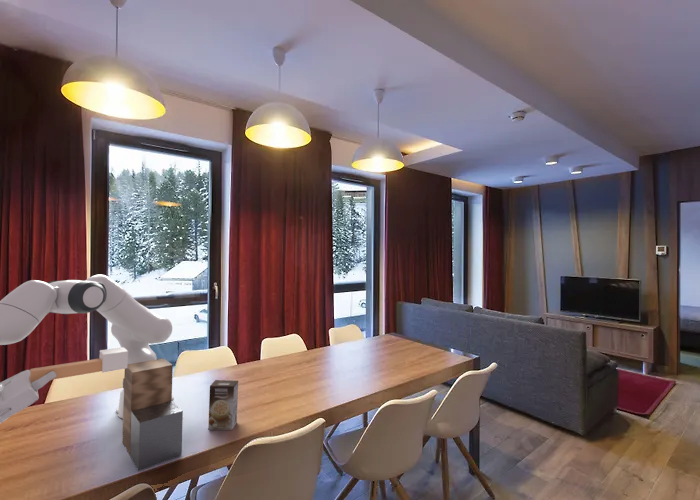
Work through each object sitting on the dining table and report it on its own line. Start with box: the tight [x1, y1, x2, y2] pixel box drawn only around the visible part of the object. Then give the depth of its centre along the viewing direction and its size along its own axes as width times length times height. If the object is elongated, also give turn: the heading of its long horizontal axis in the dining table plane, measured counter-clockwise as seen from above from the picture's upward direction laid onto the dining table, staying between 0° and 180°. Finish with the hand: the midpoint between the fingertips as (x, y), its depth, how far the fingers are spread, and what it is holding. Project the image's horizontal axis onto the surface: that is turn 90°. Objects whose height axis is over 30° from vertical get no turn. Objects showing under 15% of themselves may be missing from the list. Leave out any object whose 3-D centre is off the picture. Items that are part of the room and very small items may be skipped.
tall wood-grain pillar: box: [121, 357, 174, 456], centre depth 117 cm, size 12×10×26 cm
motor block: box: [129, 400, 184, 472], centre depth 109 cm, size 12×10×14 cm
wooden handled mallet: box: [29, 346, 128, 382], centre depth 97 cm, size 21×6×5 cm, turn 134°
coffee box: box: [207, 379, 239, 431], centre depth 129 cm, size 9×6×16 cm
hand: (54, 370), depth 93 cm, fingers closed on wooden handled mallet, 3 cm apart
